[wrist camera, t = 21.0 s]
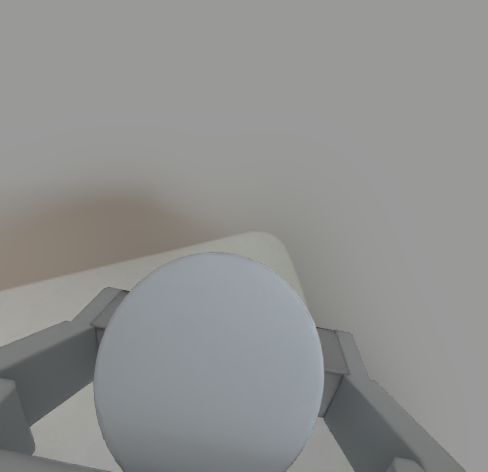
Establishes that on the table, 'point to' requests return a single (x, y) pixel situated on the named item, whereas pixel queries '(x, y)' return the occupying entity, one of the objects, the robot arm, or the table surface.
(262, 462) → the pill bottle
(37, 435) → the table surface
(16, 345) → the robot arm
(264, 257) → the table surface
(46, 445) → the table surface
